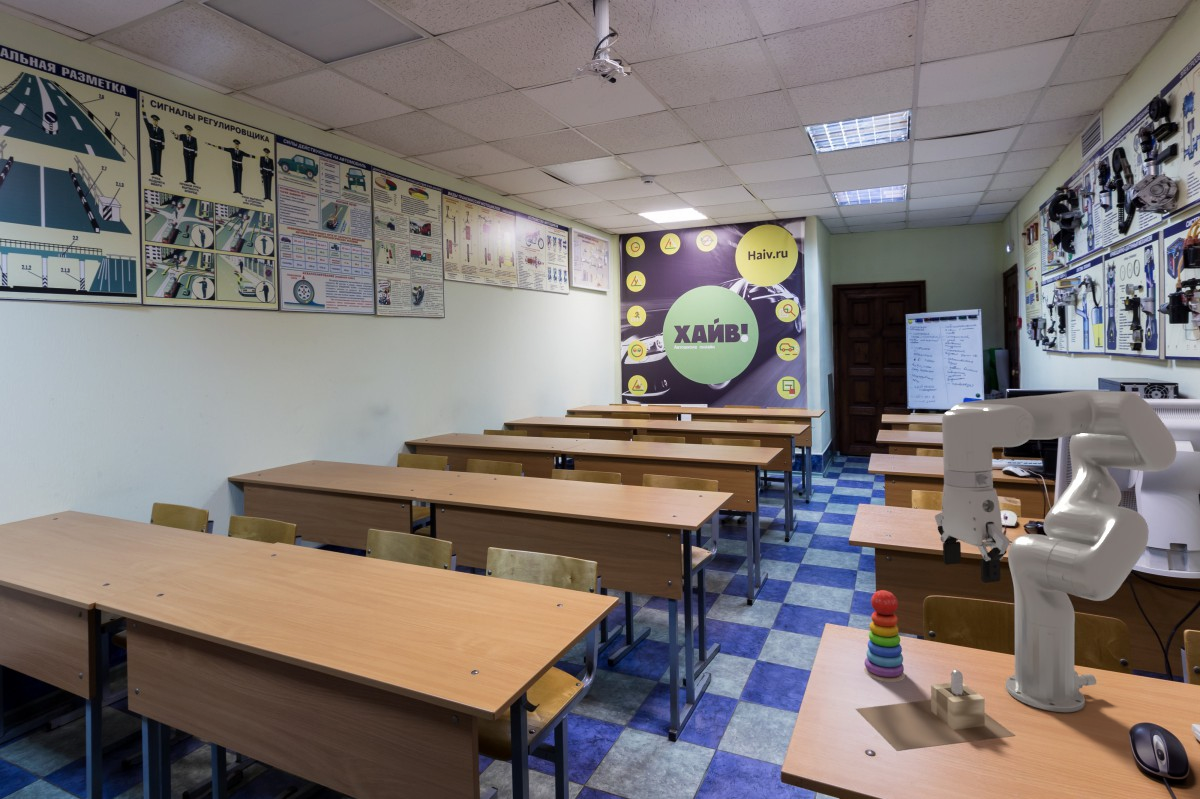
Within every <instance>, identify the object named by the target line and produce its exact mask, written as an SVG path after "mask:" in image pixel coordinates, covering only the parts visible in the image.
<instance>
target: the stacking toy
mask: <svg viewBox="0 0 1200 799" xmlns="http://www.w3.org/2000/svg"><path fill="white" fill-rule="evenodd" d="M870 600H871V601H870V603H871V607H872V608H873V610H874V612H872V614H871V615H870V616H871V622H870V623H869V630H870V631H869V633H868V638H869V640H868V642H867V648H868V649H867V651H866V658H865V660H864V666H865V667H864V670H863V671H864V672H865V674H866V675H867V676H868V677H870V678H872V679H874V680H877V681H881V682H886V683H887V682H888V683H896V682H900V681H903V680H904V679H905V678H906V674H905V672H904V670H905V669H904V668H905V667H904V666H905V665H904V664H903V662H904V656H903V654H902V652H903V648H902V645H901V644H900V642H901V637H900V635H899V634H898V633H899V627H898V625H897V624H898V620H899V618H898V617H897V615H896V614H895V612H896V611H897V610H898V605H899V604H898V603H899V602H898V599H897V597H896V596H895V595H894V594H893V593H892V592H891V591H888V590H884V589H882V590H877V591H875V592H874V593H873V595H872V596H871V599H870Z"/></svg>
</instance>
